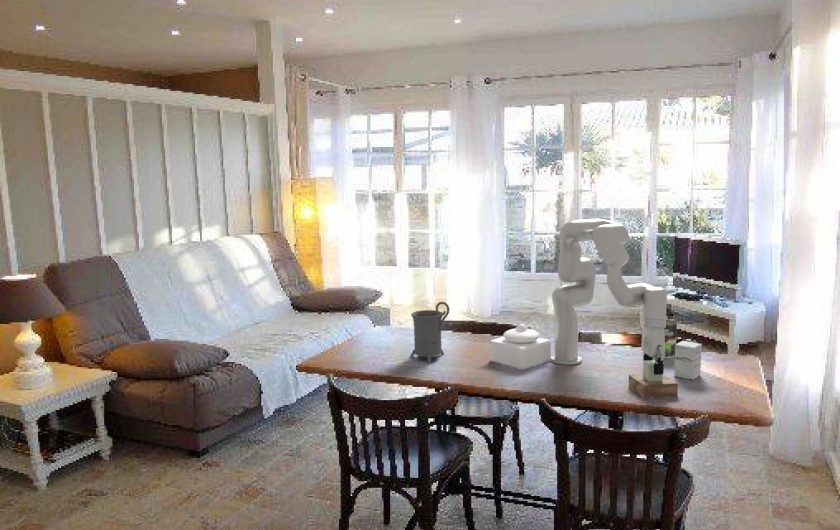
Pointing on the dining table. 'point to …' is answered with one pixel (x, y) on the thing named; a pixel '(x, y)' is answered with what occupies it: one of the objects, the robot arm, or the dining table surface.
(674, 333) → the coffee can
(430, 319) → the mug
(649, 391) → the walnut box
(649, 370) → the green block
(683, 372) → the supplement box
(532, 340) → the white lidded container
